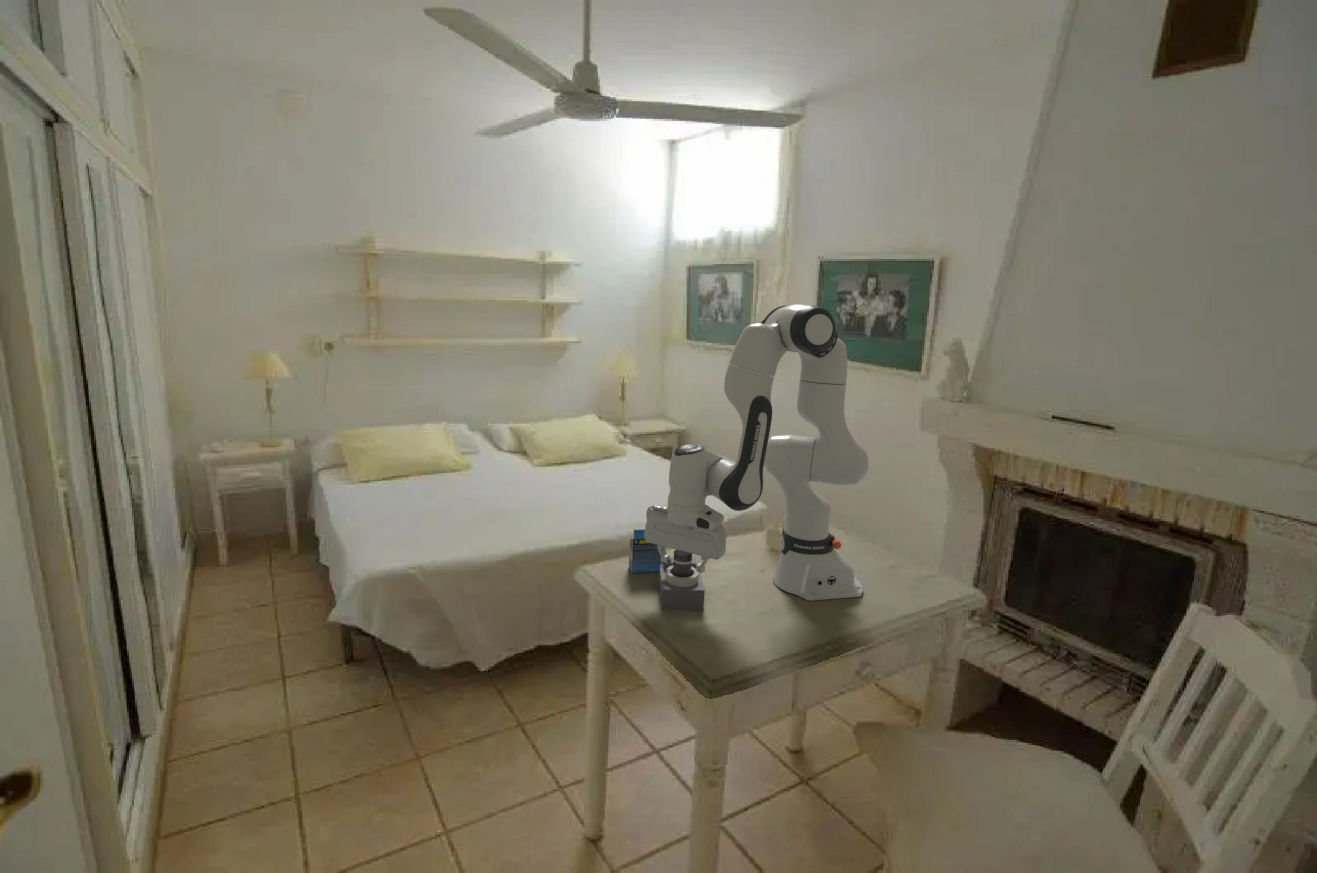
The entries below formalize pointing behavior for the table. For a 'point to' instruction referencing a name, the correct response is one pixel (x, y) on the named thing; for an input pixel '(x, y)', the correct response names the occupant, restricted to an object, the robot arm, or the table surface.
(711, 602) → the table surface
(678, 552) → the lens
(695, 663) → the table surface
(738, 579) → the table surface
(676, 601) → the camera body
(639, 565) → the label tape box
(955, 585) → the table surface
